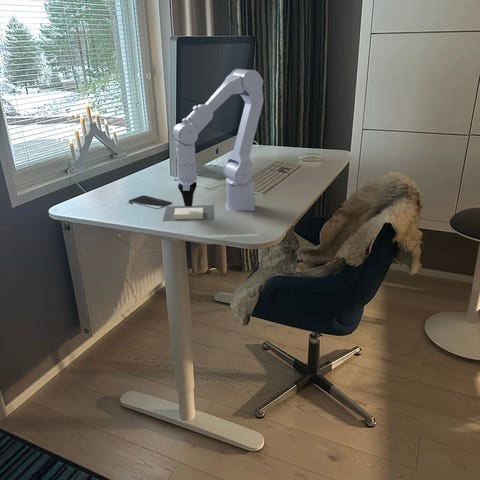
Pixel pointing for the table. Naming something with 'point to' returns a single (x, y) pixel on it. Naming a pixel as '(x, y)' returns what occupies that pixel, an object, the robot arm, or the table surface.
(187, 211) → the card box
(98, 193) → the table surface
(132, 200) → the phone
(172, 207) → the desk mat
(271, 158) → the table surface
